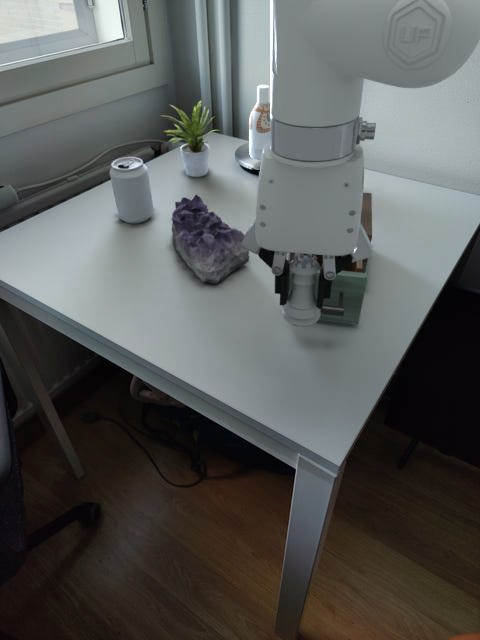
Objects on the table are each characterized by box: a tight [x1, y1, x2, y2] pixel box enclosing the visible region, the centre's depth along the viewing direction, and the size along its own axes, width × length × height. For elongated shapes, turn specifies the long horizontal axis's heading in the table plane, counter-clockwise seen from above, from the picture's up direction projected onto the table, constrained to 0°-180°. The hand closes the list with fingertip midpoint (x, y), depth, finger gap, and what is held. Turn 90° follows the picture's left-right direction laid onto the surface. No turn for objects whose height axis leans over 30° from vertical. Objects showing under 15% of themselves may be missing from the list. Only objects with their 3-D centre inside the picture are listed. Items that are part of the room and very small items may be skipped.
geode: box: [171, 194, 250, 285], centre depth 84 cm, size 20×12×10 cm, turn 33°
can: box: [108, 156, 155, 224], centre depth 95 cm, size 8×8×12 cm
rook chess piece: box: [281, 253, 321, 328], centre depth 51 cm, size 4×4×8 cm
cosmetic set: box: [248, 84, 270, 160], centre depth 106 cm, size 25×9×19 cm, turn 46°
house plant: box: [160, 100, 220, 178], centre depth 111 cm, size 14×14×16 cm
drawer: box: [288, 253, 368, 325], centre depth 72 cm, size 18×11×9 cm, turn 168°
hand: (302, 298), depth 52 cm, fingers closed on rook chess piece, 3 cm apart
